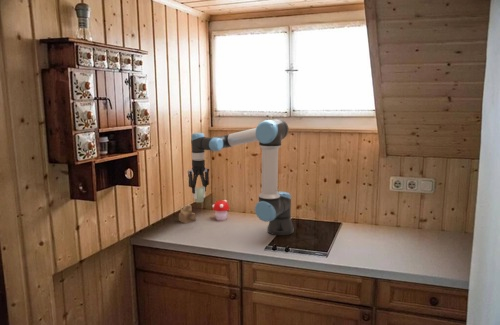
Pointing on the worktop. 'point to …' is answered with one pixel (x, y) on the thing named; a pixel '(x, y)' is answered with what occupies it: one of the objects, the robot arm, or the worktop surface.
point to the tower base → (187, 218)
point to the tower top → (186, 210)
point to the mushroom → (221, 209)
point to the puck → (200, 194)
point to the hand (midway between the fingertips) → (199, 197)
